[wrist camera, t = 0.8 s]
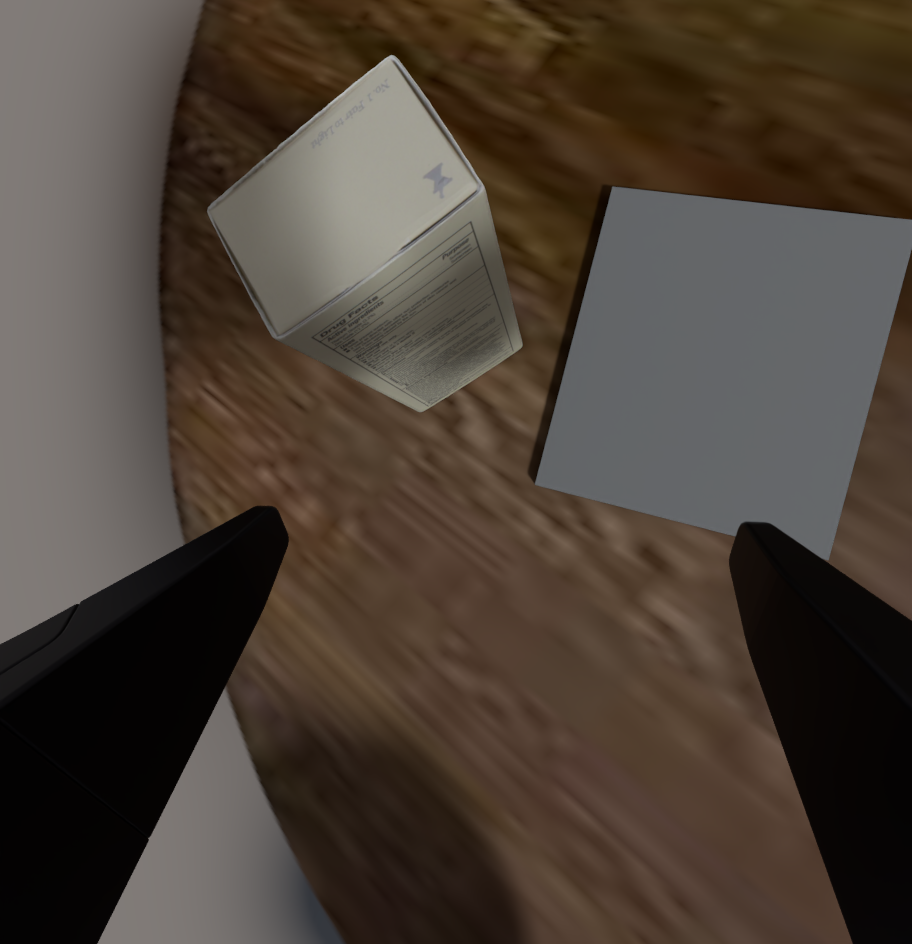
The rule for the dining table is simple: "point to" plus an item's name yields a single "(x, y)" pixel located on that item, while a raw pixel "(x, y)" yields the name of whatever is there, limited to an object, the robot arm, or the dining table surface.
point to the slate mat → (726, 361)
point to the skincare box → (374, 245)
